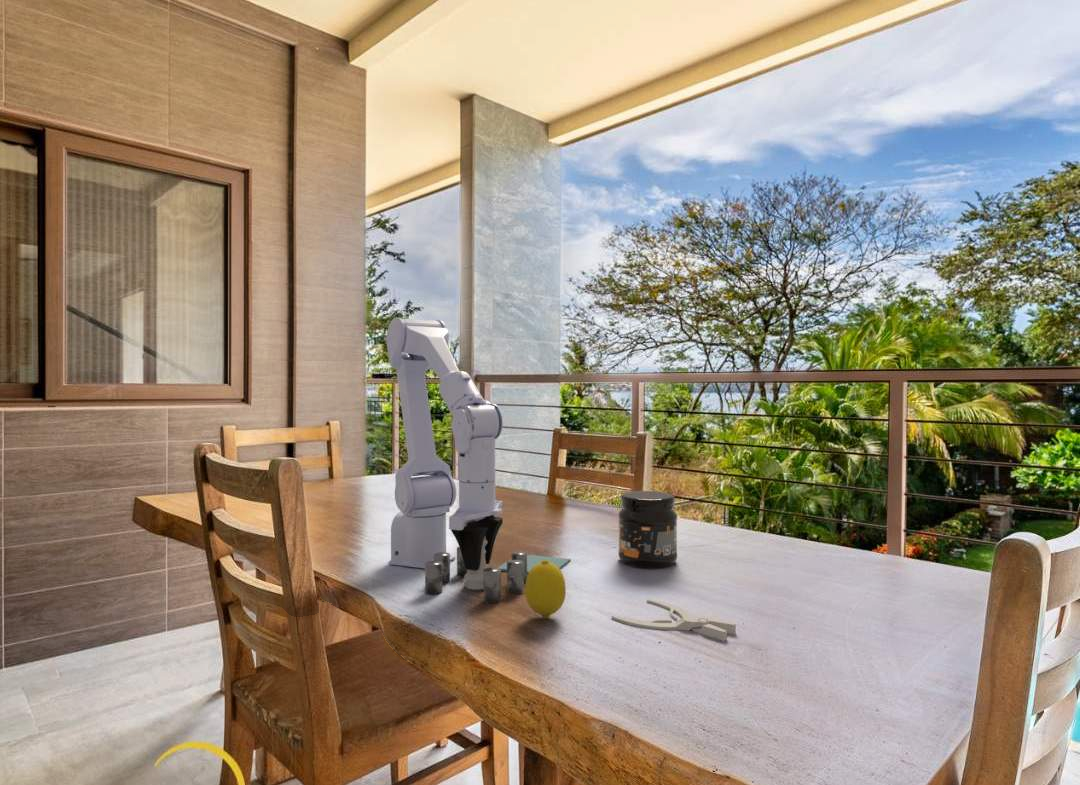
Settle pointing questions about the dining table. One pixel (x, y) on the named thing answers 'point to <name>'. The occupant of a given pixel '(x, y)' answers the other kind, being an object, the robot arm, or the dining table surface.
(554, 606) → the lemon
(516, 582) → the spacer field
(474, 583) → the rook chess piece
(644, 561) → the supplement container
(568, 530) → the dining table surface
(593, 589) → the dining table surface
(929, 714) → the dining table surface
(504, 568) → the mat
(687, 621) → the pliers
